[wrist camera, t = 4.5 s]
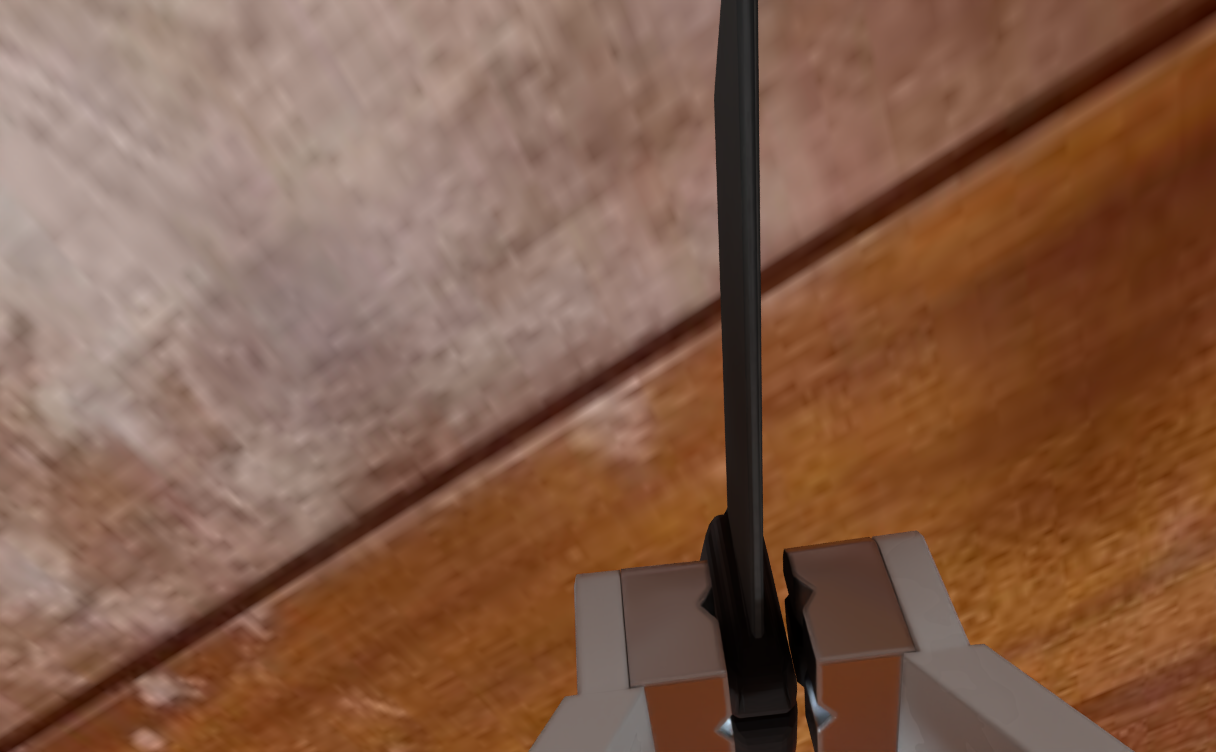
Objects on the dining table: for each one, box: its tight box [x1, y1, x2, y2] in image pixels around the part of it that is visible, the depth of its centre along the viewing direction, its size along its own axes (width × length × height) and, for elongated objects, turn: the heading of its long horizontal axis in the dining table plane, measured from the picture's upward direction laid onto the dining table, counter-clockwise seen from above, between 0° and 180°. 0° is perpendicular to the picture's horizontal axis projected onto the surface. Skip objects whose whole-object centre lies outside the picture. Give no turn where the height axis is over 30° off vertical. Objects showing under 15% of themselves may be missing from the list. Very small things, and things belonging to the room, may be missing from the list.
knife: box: [700, 0, 798, 752], centre depth 12 cm, size 17×1×3 cm, turn 7°
